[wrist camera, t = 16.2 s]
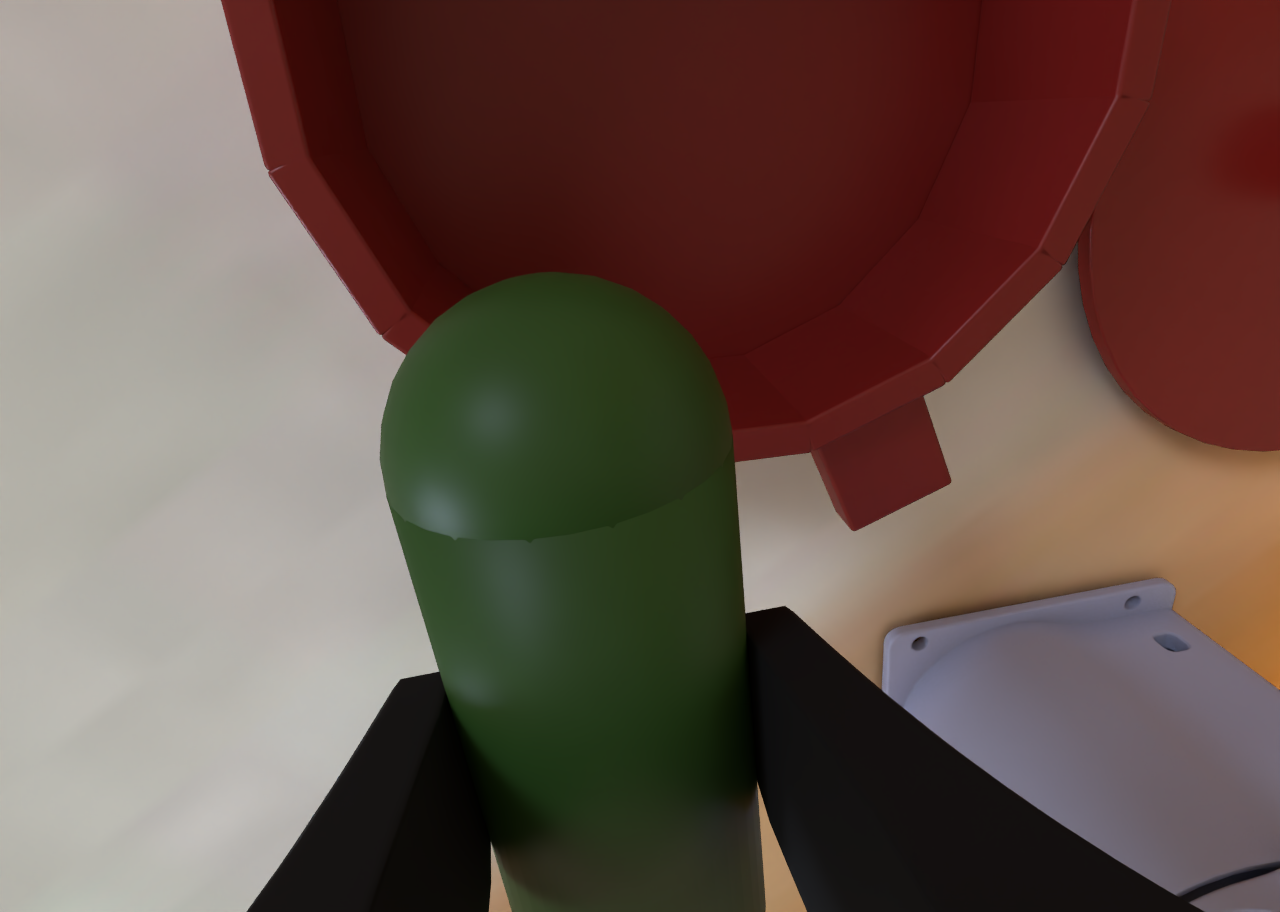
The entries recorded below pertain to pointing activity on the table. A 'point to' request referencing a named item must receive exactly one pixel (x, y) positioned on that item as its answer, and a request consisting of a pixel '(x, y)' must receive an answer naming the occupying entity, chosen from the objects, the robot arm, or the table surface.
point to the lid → (1197, 233)
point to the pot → (717, 179)
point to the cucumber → (584, 592)
